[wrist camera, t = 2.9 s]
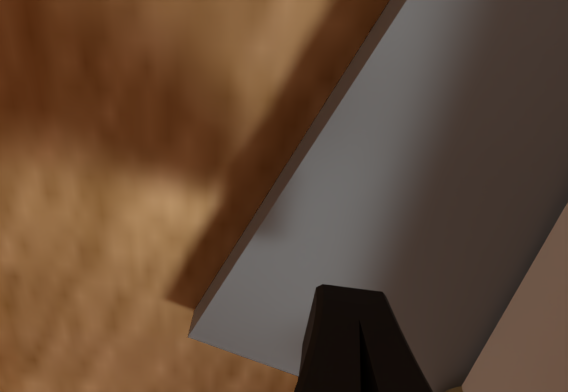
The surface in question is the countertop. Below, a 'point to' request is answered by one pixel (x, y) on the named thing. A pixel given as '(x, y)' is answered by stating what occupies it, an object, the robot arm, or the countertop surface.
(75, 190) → the countertop surface
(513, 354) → the gate
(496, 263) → the gate board
